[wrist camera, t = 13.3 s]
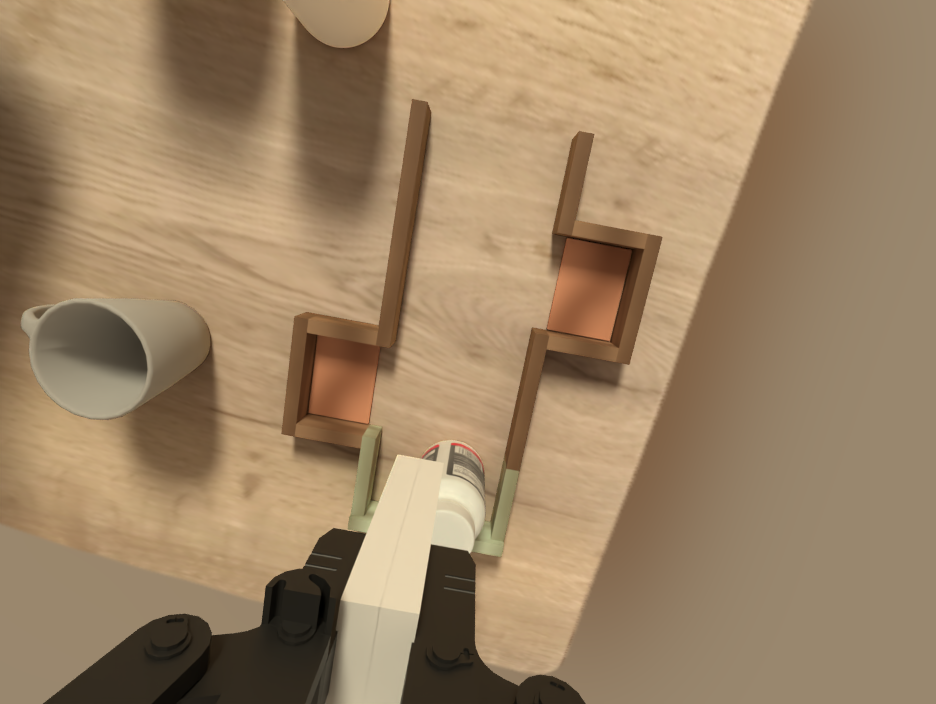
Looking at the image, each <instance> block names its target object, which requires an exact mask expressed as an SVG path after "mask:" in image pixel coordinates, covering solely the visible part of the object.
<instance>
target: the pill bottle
mask: <svg viewBox="0 0 936 704" xmlns="http://www.w3.org/2000/svg"><path fill="white" fill-rule="evenodd" d="M421 459H425V460H431V461H436V462H441V463H444V466H443V472H442V478H441V484H440V490H439V497H438V503H437V509H436V515H435V521H434V528H433V534H432V540H431V544H433V545H438V546H444V547H449V548H455V549H461V550H466V551H468V552H469V554H470V553H471V551H472V549H473V546H474V542H475V539H476V538H477V536H478V535H479V534H480V532H481V530H482V528H483V525H484V521H485V515H486V512H485V482H484V466H483V462H482V460H481V457H480V456H479V454H478V453H477V452H476V451H475V450H474V449H473V448H472V447H471V446H469V445H468V444H466V443H463V442H461V441H456V440H446V441H441V442H438V443H436V444H434V445H432V446H430V447H429V448H428V449H427V450H426V451H425V452H424V454H423V455H422V457H421Z"/></svg>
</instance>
